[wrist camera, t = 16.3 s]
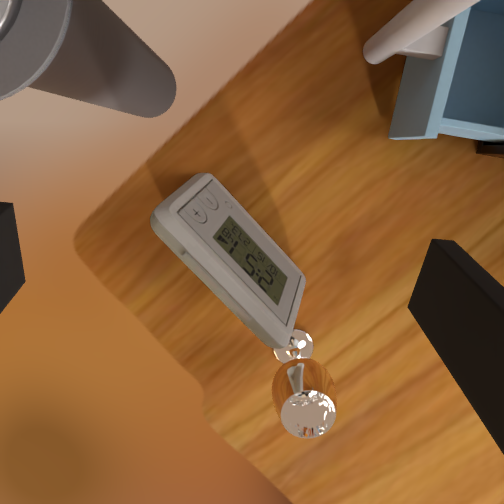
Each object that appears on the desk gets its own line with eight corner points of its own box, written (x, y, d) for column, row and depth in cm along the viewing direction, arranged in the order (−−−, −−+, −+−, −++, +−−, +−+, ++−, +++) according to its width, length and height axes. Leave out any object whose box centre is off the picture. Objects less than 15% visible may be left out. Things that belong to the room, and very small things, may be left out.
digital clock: (311, 285, 45) (329, 328, 34) (238, 326, 46) (236, 378, 35) (232, 152, 41) (226, 154, 31) (155, 198, 42) (125, 216, 32)
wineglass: (288, 379, 47) (301, 455, 36) (257, 343, 46) (259, 410, 35) (329, 350, 47) (356, 418, 35) (298, 313, 45) (315, 370, 34)
